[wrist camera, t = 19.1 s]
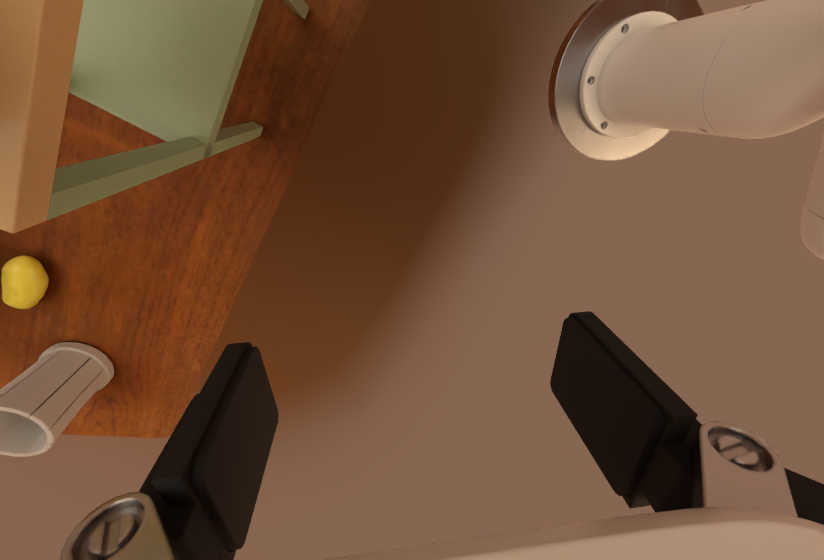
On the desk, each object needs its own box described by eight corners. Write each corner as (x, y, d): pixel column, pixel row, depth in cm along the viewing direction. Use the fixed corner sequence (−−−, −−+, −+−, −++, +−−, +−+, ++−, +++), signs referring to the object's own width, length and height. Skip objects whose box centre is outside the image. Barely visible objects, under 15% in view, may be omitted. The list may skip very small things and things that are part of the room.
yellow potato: (12, 292, 45) (-17, 308, 42) (22, 243, 42) (-9, 256, 39) (50, 305, 46) (25, 322, 43) (62, 259, 44) (36, 273, 40)
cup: (86, 399, 54) (18, 472, 44) (24, 366, 50) (-67, 438, 40) (129, 365, 52) (69, 434, 42) (68, 328, 48) (-15, 393, 38)
